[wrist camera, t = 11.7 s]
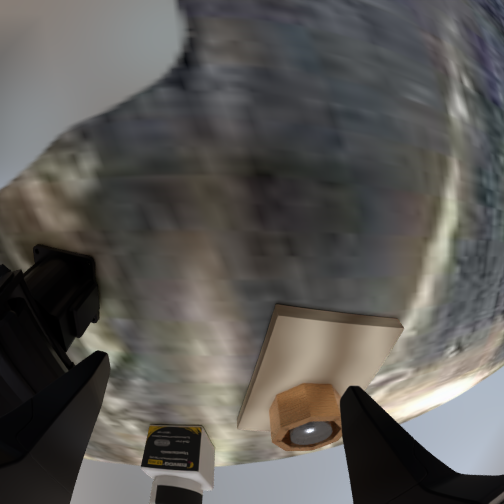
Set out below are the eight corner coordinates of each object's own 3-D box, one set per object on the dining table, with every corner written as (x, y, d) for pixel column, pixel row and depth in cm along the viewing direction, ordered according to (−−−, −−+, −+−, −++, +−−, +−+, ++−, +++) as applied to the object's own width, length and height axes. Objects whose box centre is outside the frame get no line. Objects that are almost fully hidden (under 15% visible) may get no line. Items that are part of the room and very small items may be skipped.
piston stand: (237, 419, 29) (237, 429, 27) (275, 304, 22) (277, 315, 21) (331, 421, 30) (333, 431, 29) (397, 318, 24) (404, 328, 22)
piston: (281, 414, 26) (285, 445, 23) (293, 392, 25) (298, 425, 21) (316, 414, 27) (322, 444, 23) (330, 393, 25) (339, 424, 22)
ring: (263, 420, 27) (266, 450, 23) (282, 381, 24) (287, 416, 20) (322, 421, 27) (329, 449, 24) (349, 384, 25) (360, 415, 21)
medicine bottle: (202, 424, 29) (195, 511, 18) (215, 448, 32) (213, 522, 21) (149, 423, 29) (132, 502, 18) (168, 447, 32) (158, 516, 21)
